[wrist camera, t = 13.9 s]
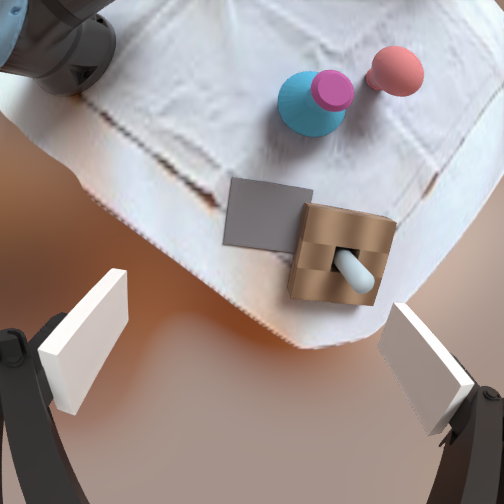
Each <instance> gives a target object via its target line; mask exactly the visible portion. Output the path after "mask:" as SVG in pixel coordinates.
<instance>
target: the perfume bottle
mask: <svg viewBox="0 0 504 504" xmlns="http://www.w3.org/2000/svg"><path fill="white" fill-rule="evenodd" d="M353 98H354V88H353V85H352V83H351V82H350V80H349V79H348V78H347V77H346V76H345V75H344V74H342V73H340V72H338V71H335V70H325V71H322V72H320V73H318V72H312V71H307V72H301V73H297V74H295V75H293V76H291V77H290V78H289V79H287V80H286V82H285V83H284V84H283V85H282V87H281V89H280V92H279V95H278V109H279V112H280V115H281V117H282V119H283V121H284V122H285V123H286V124H287V125H288V127H290V128H291V129H292V130H293V131H295V132H297V133H299V134H302V135H305V136H310V137H320V136H324V135H327V134H329V133H331V132H333V131H334V130H335V129H337V128H338V126H339V125H340V124H341V122H342V120H343V118H344V116H345V112H346V109H347V108H348V107H349V106H350V105H351V103H352V101H353Z"/></svg>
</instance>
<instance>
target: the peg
mask: <svg viewBox="0 0 504 504" xmlns="http://www.w3.org/2000/svg"><path fill="white" fill-rule="evenodd" d="M333 263H334V264H335V265H336V267H337V268H338V269H339V271H340V272H341V273H342V275H343V276H344V277H345V279H346V280H347V281H348V283H349V284H350V286H351V287H352V288H353V290H354V291H355V292H356V293H358V294H365V293H368V292H369V291H370V290H371V289H372V288H373V286H374V277H373V275H372V274H371V273H370V272H369V271H368V270H367V269H366V268H365V267H364V266H363V265H362V264H361V263H360V262H359V261H358V260H357V259H356V258H355V256H354V255H353V254H352V253H351V252H350V251H349V250H348V249H347V248H345V247H339V246H336V248H335V252H334V256H333Z"/></svg>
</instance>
